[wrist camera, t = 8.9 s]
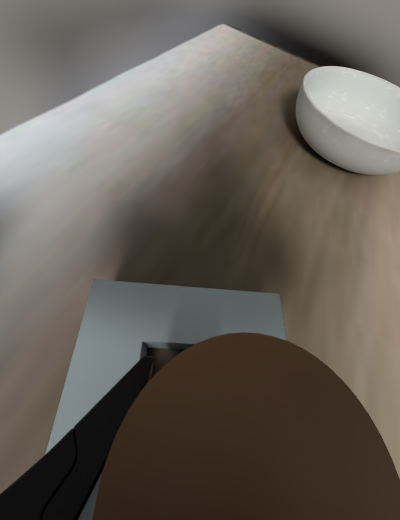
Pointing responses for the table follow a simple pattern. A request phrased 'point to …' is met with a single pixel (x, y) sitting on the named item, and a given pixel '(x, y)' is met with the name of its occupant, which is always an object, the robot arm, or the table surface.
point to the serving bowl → (351, 119)
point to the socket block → (150, 333)
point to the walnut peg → (247, 441)
